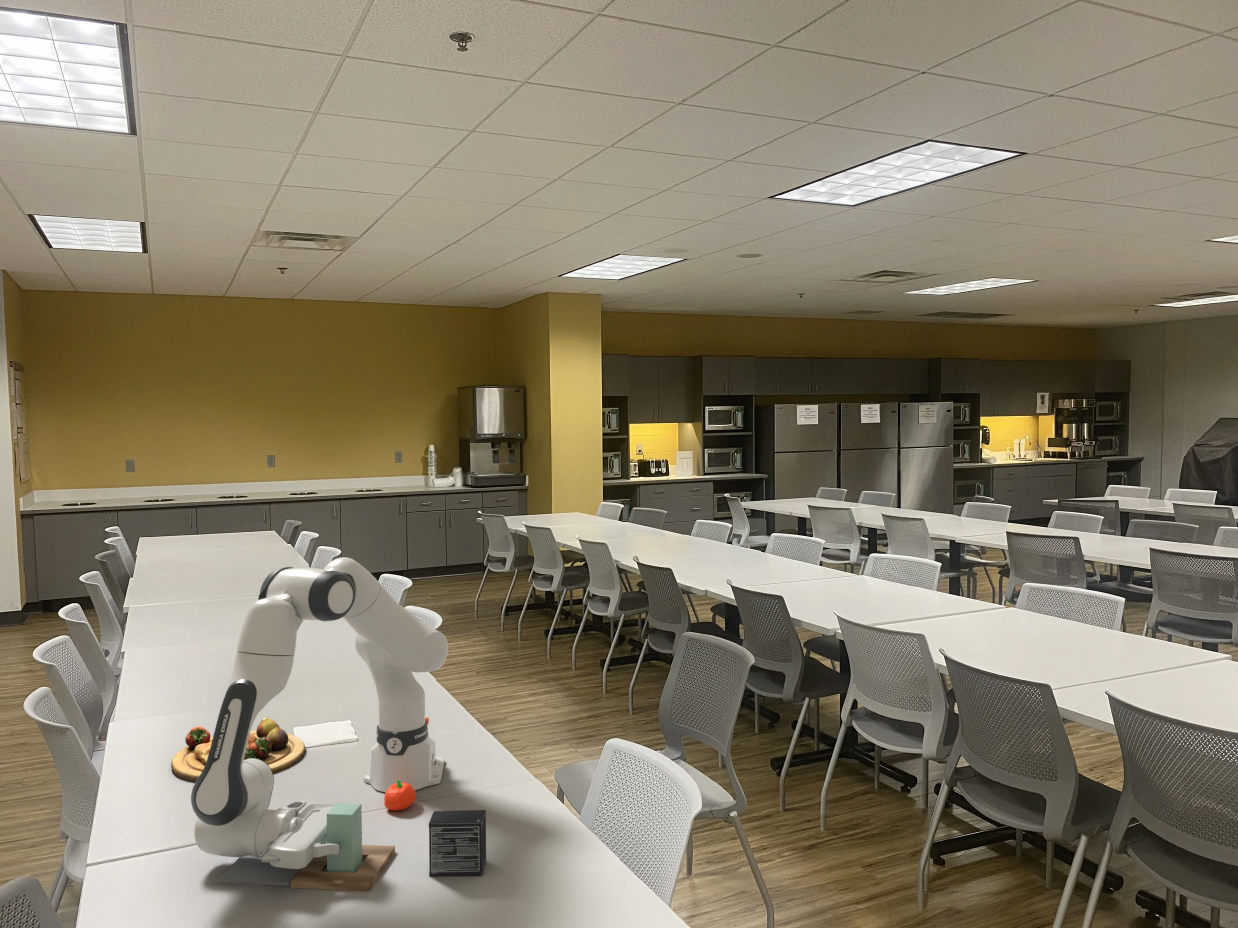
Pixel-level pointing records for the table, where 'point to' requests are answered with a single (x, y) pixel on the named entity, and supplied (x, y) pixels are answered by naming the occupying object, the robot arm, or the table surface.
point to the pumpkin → (399, 796)
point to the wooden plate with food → (262, 745)
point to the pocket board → (361, 880)
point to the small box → (457, 843)
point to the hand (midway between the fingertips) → (349, 836)
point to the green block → (345, 837)
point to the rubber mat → (256, 873)
